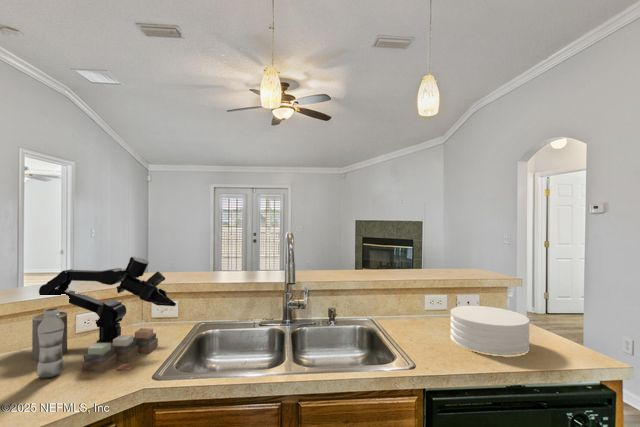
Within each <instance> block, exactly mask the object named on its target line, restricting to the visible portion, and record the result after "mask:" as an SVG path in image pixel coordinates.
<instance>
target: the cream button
mask: <svg viewBox="0 0 640 427" xmlns="http://www.w3.org/2000/svg"><path fill="white" fill-rule="evenodd" d="M133 337H134V335H133V334H131V335H130V334H129V335H127V334H125V335H124V334H121V335H120V336H118V337H117V338H115V339H113V342H112V344H113V346H128V345H129V344H131V343H132V342H133Z"/></svg>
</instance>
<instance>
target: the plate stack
mask: <svg viewBox="0 0 640 427" xmlns="http://www.w3.org/2000/svg"><path fill="white" fill-rule="evenodd" d="M530 321H531V320H530V319H529V317H527V316H526V315H524V314H522V313H520V312H516V311H513V310H509V309H505V308H499V307H493V306H484V305H462V306H455V307H452V308H451V309H450V338H451V339H450V341H451V340H452V341H453V342H455V343H456V344H458V345H460V346H462V347H465V348H468V349H471V350H475V351H479V352H484V353H489V354H497V355H517V354H522V353H525V352H527V351H528V350H529V351H530ZM452 341H451V342H452Z"/></svg>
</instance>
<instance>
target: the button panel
mask: <svg viewBox="0 0 640 427" xmlns="http://www.w3.org/2000/svg"><path fill="white" fill-rule="evenodd" d="M158 342H159V340H158V337H157V333H155V332H153V335H152V336H150V337H149V338H135V336H133V342H132V343H131V344H129V345H128V346H113V343H111V350H110V351H108V352H107V353H105V354H103V355H88V352H87V353H85V354H84V355H83V361H81V362H80V372H81V373H105V372H106V371H108V370H109V369H111V367H113V366H114V365H115V364H117V363H123V364H121V365H120V366H118V367H117V368H116V371H130V370H132V369H133V367H135V366H136V363H129V362H130V361H131V360H133V359H134V358H135V357H136V356H138V355H139V354H151V353H152V352H153V351H155V349H156V348H158V346H159V343H158Z"/></svg>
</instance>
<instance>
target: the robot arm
mask: <svg viewBox="0 0 640 427" xmlns="http://www.w3.org/2000/svg"><path fill="white" fill-rule="evenodd" d="M149 264H150V262H149V260H147V259H145V258H141V257H136V256H131V257H130V258H129V260H128V264H127V266H126V268H121V267H116V268H110V269H103V270H91V269H90V270H89V269H88V270H86V269H85V270H84V269H82V270H81V269H72V268H71V269H65V270H62V271H61V272H59V273H58V274H57V275H56V276H55V277H53V278H51V279H50V280H49V281H47V282H46V283H45V284H42V285H41V286H39V289H38V294H39V296H40V295H61V294H66V295H68V296H69V298H70V299H69V303H68V304H70V305H73V306H76V307H79V308H82V309H84V310H87V311H90V312H92V313H95V314H96V315H97V317H98V318H97V320H96V321H95V324H96V327H97V328H98V329H99V331H98V332H99V334H98V339H97V340H96V343H113V339H115V338H117V337H118V336H120V335H122V326H121V323H120V322H122V320H123V318H124V317H125V316H126V314H127V307H126V305H125V304H123V302H122V301H117V300H115V299H109V300H106V301H102V300H100V299H97V298H94V297H91V296H88V295H86V294H83V295H81V294H82V293H81V294H75V292H76V291H75V290H72V289H71V288H70V285H71V283H72V282H75V281H77V282H79V281H80V282H97V283H100V284H103V285H108V286H113V285H116V284H119V285H118V286H116V292H117V294H120V293H123V292H125V291H126V292H128V293H130V294H132V295H134V296H135V297H136V296H137V297H139V300H142V301H144V302H147V303H152V304H153V305H155V306H159V307H160V306H162V307H163V306H165V307H176V306H177V303H176V302H175V301H173V300H172V299H171V298H169V296H168V292H167V291H166V290H164V289H162V288H159V287H158V286H159V284H161V283H162V282H164V281H165V280H166V277H165V276H164V275H163V274H162V273H161V272H160V271H156V272H155V273H153V274H152V276H150V277H149V278H148V279H147V280H144V279H143V280H142V279H139V278H140V277H142V276H144V274H145V271H146V269H147V268H148V265H149Z"/></svg>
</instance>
